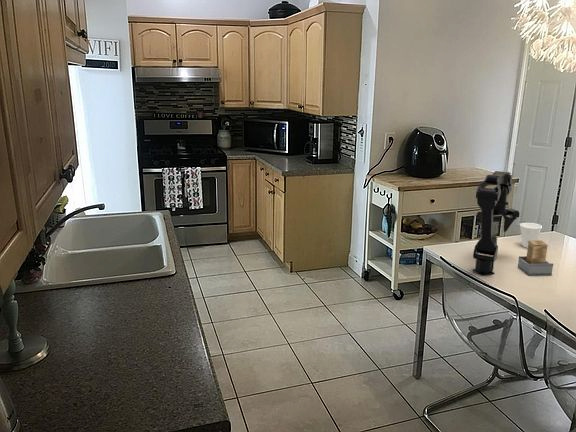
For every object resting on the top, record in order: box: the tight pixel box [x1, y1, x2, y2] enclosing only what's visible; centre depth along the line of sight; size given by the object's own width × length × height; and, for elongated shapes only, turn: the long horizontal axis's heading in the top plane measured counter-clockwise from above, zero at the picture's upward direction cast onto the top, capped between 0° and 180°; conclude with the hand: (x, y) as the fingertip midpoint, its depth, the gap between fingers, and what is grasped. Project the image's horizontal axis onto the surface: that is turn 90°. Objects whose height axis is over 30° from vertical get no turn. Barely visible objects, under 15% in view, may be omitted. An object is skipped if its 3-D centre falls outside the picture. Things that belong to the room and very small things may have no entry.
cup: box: [519, 222, 543, 249], centre depth 236 cm, size 10×10×11 cm
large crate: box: [517, 255, 554, 277], centre depth 207 cm, size 10×10×5 cm
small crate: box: [526, 240, 549, 264], centre depth 206 cm, size 6×6×12 cm
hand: (496, 232), depth 218 cm, fingers open, 9 cm apart
